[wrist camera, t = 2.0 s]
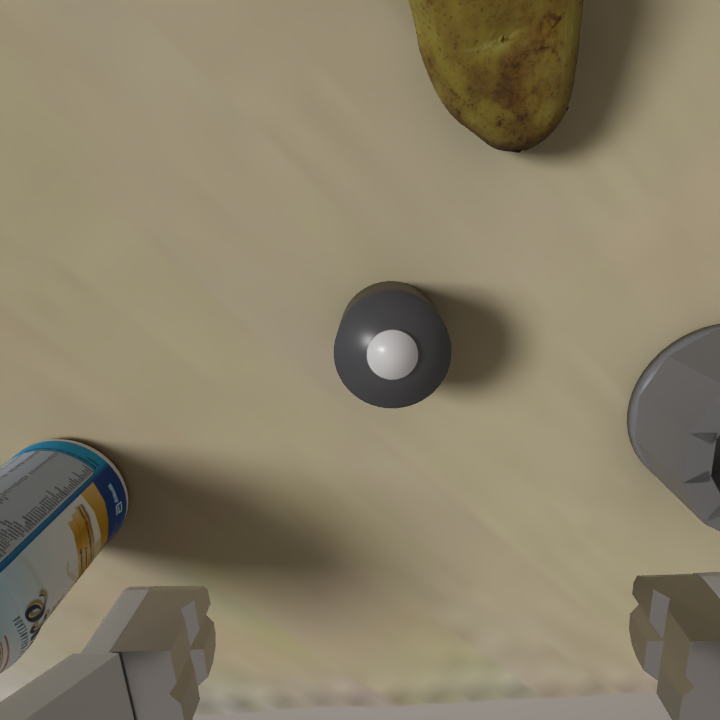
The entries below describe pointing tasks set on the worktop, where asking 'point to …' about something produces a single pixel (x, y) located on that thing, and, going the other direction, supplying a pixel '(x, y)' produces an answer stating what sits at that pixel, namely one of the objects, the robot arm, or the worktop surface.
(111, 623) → the robot arm
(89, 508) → the beverage bottle
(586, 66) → the worktop surface
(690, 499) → the faceted grey cup
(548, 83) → the potato
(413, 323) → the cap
